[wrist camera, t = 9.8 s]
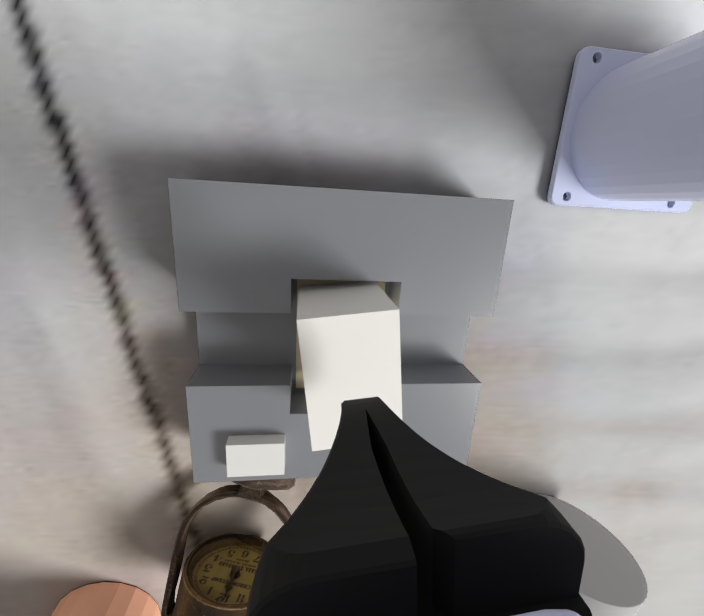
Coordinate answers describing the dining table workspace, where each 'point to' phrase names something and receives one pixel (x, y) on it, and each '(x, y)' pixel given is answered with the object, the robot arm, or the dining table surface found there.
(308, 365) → the plug
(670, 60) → the robot arm
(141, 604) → the pepper shaker
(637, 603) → the bent grey cylinder
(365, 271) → the socket board
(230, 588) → the bronze loop with drum
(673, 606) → the dining table surface
